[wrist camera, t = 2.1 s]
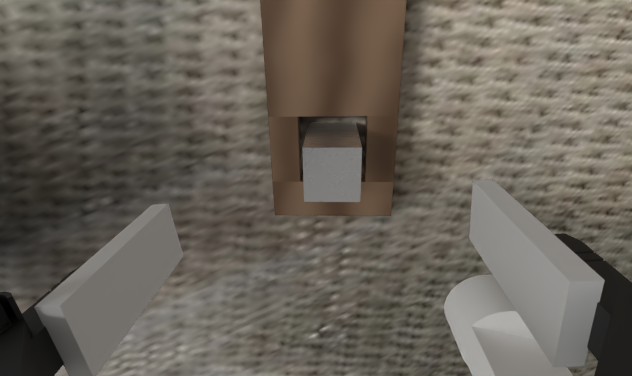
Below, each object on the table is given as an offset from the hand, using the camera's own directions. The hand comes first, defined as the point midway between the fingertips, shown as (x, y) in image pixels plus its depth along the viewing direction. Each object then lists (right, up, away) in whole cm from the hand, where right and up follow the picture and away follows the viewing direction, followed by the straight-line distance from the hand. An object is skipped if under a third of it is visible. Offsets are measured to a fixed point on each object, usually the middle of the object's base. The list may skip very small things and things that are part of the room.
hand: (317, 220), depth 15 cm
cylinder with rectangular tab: (+20, -13, +27) cm, 36 cm away
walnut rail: (+1, +15, +17) cm, 22 cm away
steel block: (+2, +6, +20) cm, 21 cm away
